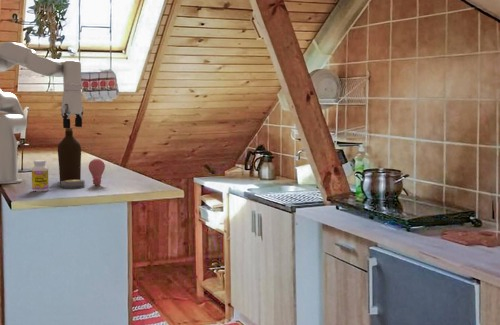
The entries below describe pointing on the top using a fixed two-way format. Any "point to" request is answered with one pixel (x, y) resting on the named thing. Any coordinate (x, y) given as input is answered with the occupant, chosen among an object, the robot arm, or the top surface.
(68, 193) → the top surface
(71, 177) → the olive oil
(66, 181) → the socket base
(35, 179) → the supplement bottle
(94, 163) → the light bulb
